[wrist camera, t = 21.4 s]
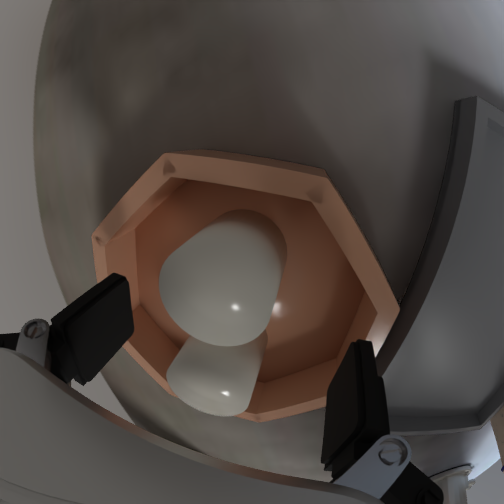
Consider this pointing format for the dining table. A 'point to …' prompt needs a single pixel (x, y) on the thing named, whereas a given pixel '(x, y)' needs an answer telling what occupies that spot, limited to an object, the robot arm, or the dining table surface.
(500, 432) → the teacup with lid
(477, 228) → the parts tray
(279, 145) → the dining table surface
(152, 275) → the bowl
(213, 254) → the pebble
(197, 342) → the pebble
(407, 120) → the dining table surface
